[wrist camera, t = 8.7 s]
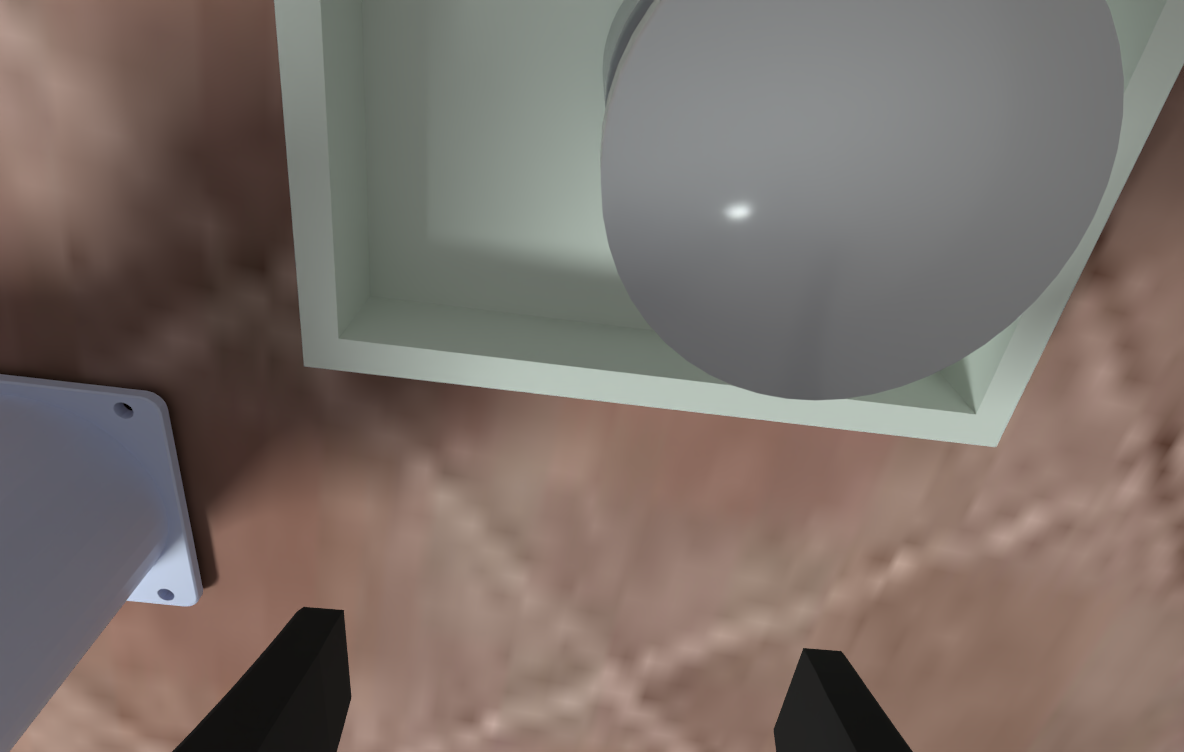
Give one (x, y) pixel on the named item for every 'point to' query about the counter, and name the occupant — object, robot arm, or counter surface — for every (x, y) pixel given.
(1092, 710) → the counter surface
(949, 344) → the cylinder
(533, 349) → the tray
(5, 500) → the robot arm
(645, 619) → the counter surface
